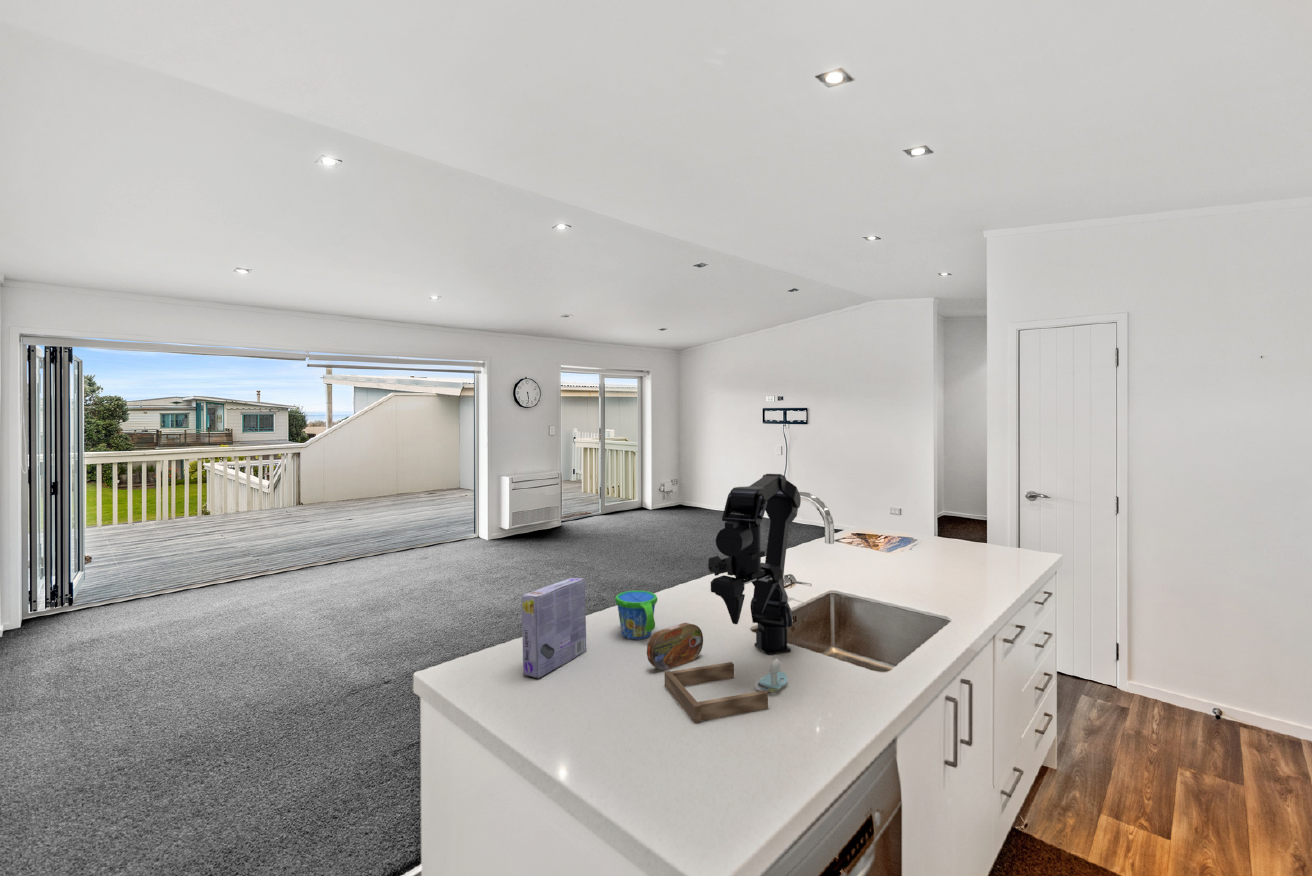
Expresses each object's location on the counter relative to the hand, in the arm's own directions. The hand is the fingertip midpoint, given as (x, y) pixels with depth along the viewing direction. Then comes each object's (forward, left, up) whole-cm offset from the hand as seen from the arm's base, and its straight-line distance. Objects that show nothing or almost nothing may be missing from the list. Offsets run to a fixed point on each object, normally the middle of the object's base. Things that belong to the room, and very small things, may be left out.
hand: (747, 618), depth 125 cm
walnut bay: (+12, +7, -12) cm, 18 cm away
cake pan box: (+38, -21, -12) cm, 45 cm away
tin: (+13, -11, -12) cm, 21 cm away
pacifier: (-1, +7, -13) cm, 14 cm away
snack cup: (+16, -31, -12) cm, 37 cm away
